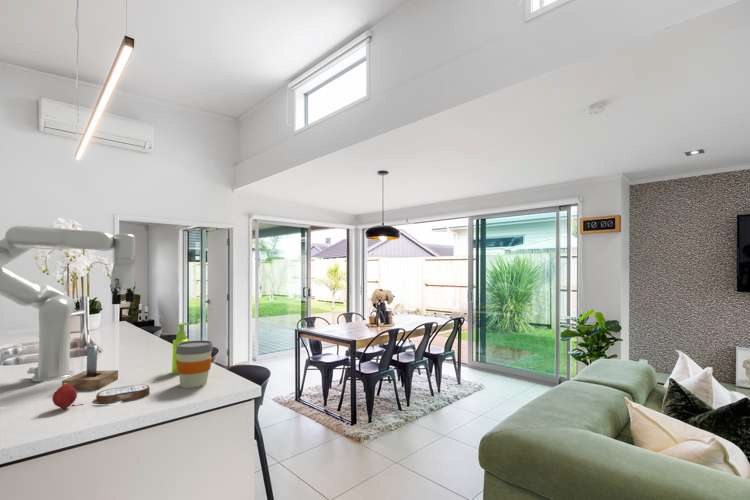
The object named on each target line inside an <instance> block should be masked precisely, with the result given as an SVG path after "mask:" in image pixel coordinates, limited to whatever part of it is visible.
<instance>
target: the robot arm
mask: <svg viewBox="0 0 750 500" xmlns="http://www.w3.org/2000/svg"><path fill="white" fill-rule="evenodd" d="M32 249H38V250H62V251H63V250H64V251H65V250H72V249H73V250H92V251H102V252H107V251H108V252H109V251H113V266H112V270H111V275H110V277H111V278H110V284H109V287H110V292H111V295H112V296H111V304H112V305H121V304H122V294H121V292H122V291H123V290H125V291H126V292H125V302H126V303H133V302H135V292H136V291H135V289H136V286H137V281H135V279H136V278H135V258H136V236H135V235H134V234H131V233H117V234H112V233H108V232H106V231H105V232H104V231H98V230H84V229H83V230H82V229H69V228H57V227H43V226H42V227H41V226H30V225H29V226H26V225H15V226H12V227H10V228H8V229H7V231H6V232H5V235H4V237H3V238H2V239H1V240H0V296H2V297H5V298H6V299H9V300H10V301H12V302H14V303H15V304H17V305H20V306H24V307H32V308H35V309H37V310H38V327H39V329H38V353H37V354H38V355H37V356H38V357H37V366H36V367H29V368H28V370H27V374H28V375H29V374H33V376H32V378H31V381H32V382H35V383H43V382H48V381H49V382H50V381H57V380H61V379H67V378H70V377H72V376H74V374H75V371H74V370H70V362H71V361H70V360H71V359H70V357H71V338H72V337H71V334H72V333H71V332H72V331H71V329H72V328H71V325H72V322H71V315H72V314H73V313H74V312H75V309H76V302H75V301H74V300H73V298H71V296H69V295H67V294H65V293H63V292H61V291H59V290H57V289H55V288H54V287H51V286H50V285H48V284H46V283H43V282H41V281H38V280H28V279H26V278H25V277H22V276H20V275H18V273H16V272H13V271H11V270H10V269H7V268H5V267H3V266H5V265H8V264H9V263H10V262H13V260H15V259H18V258H19V257H21V256H23V254H25V253H27V252H29V251H30V250H32Z"/></svg>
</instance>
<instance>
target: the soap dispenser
mask: <svg viewBox="0 0 750 500" xmlns="http://www.w3.org/2000/svg"><path fill="white" fill-rule="evenodd" d="M185 325H191V323H189V322H180V323H178V324H176V326H178V331H176V339H173V340H172V363H171V365H172V366H171V369H172V370H171V371H172V372H171V373H172V374H173V375H179V373H178V370H177V353H176V349H177V344H179V343H182V342H188V341H190V339H189V338H187V337H186V334H187V332H186V330H184V329H185V328H184V327H185Z"/></svg>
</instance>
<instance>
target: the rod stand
mask: <svg viewBox="0 0 750 500" xmlns="http://www.w3.org/2000/svg"><path fill="white" fill-rule="evenodd" d="M118 380H119V370H118V369H117V370H116V369H115V370H97V375H96V377H86V370H84V371H81V372H79V373H76V374H75V375H74V374H73V375H72V376H69V377H66V378H64V379H63V380H62V384H63V383H67V384H68V385H70V386H72V387H74V388H75V390H76V391H89V390H90V391H95V390H101V389H104V388H105V387H107V386H109V385H111V384H112V383H114V382H116V381H118ZM62 384H61V385H62Z"/></svg>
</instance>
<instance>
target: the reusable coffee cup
mask: <svg viewBox="0 0 750 500" xmlns="http://www.w3.org/2000/svg"><path fill="white" fill-rule="evenodd" d="M213 349H214V348H213V342H212V341H211V340H203V339H202V340H200V339H198V340H189V341H188V342H182V343H179V344H177V349H176V353H177V370H178V373H179V374H178V375H179V385H180V387H182V388H187V389H188V388H189V389H193V388H198V387H202V386H204V385H206V384H207V383H208V378H209V377H208V376H209V372H210V369H211V366H212V361H213V360H212V359H213V357H212V352H213Z"/></svg>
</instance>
